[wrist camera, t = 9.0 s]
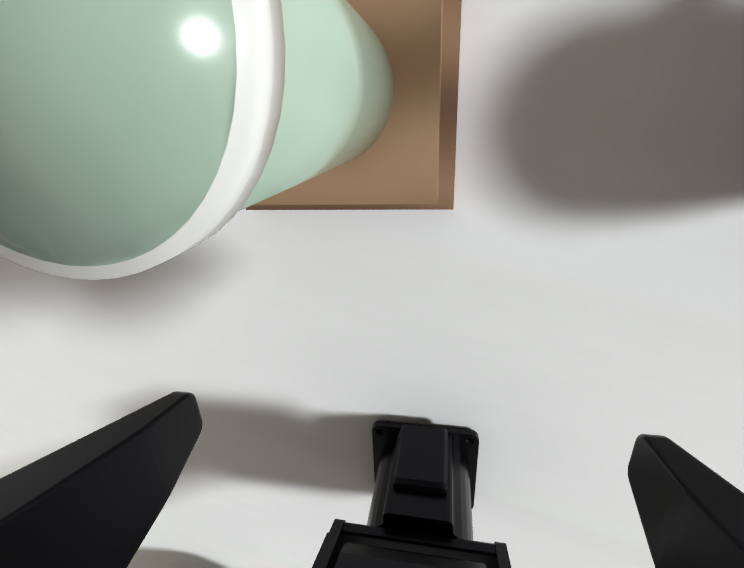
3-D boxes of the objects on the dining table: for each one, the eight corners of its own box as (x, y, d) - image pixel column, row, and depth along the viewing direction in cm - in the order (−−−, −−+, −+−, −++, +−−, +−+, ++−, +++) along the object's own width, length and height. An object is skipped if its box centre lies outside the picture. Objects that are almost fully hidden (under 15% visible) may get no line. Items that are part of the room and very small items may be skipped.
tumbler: (371, 190, 16) (215, 339, 5) (237, 143, 17) (-165, 194, 6) (422, 27, 14) (318, -296, 3) (263, -27, 14) (-377, -516, 3)
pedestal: (453, 205, 19) (453, 220, 16) (253, 206, 21) (223, 220, 18) (463, -68, 15) (467, -109, 12) (214, -37, 17) (168, -66, 14)
